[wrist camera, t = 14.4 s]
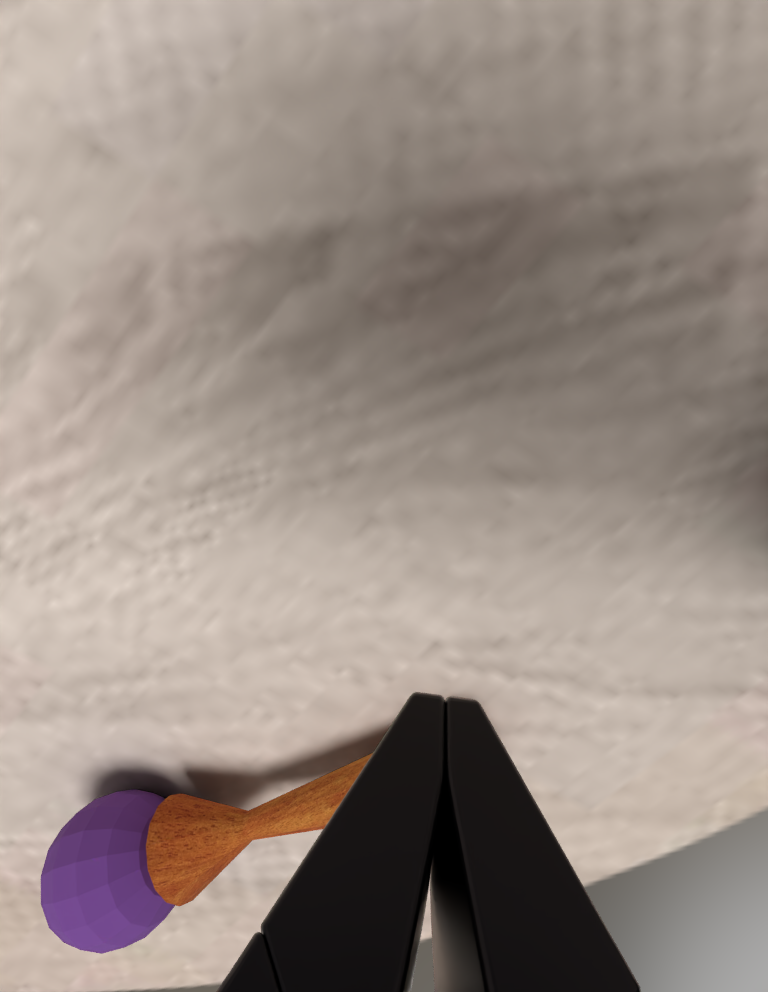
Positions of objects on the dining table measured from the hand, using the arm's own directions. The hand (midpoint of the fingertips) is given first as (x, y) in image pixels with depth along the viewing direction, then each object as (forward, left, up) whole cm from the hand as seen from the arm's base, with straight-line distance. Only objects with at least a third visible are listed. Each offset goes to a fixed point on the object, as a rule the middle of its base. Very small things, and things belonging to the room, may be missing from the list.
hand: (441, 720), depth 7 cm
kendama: (+6, +17, -12) cm, 22 cm away
